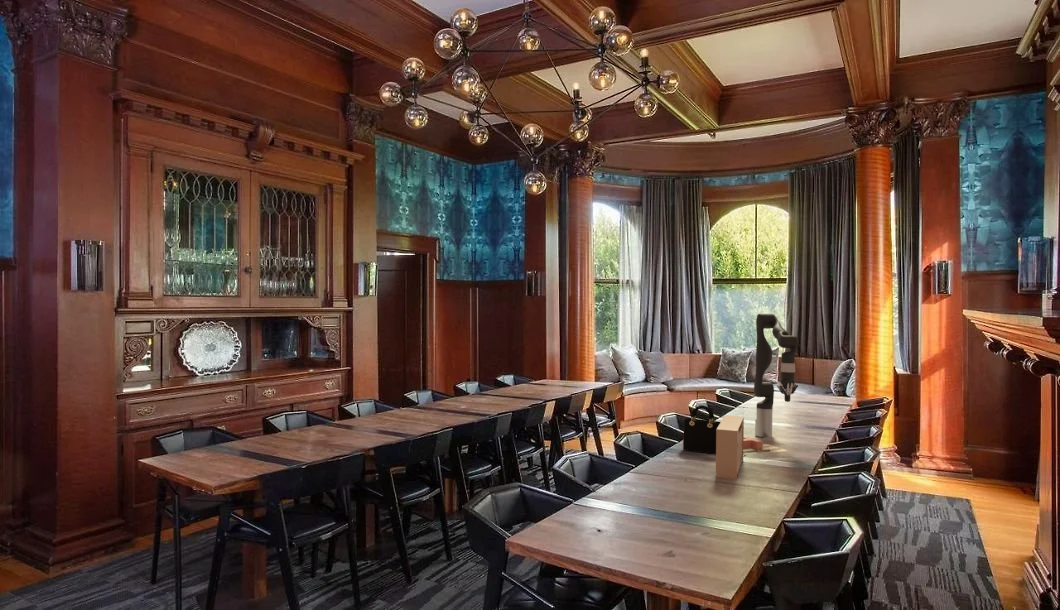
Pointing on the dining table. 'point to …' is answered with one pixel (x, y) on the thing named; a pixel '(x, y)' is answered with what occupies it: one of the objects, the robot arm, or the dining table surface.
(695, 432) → the handbag
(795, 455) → the dining table surface
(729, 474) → the box
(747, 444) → the t block
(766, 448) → the board
